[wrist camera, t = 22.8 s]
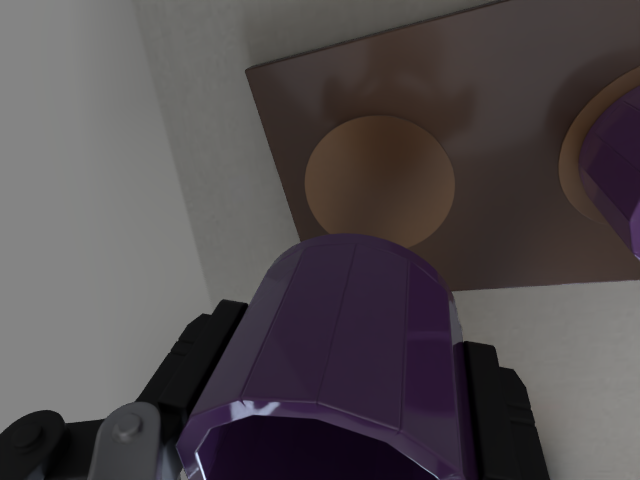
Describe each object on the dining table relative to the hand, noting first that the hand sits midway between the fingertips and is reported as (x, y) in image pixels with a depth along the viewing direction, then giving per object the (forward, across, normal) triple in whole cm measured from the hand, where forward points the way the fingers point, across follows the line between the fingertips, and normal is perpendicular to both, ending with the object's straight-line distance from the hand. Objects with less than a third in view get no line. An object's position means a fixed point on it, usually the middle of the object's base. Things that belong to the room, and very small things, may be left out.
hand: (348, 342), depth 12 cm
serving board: (+11, -6, -2) cm, 13 cm away
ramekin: (+1, 0, 0) cm, 1 cm away
